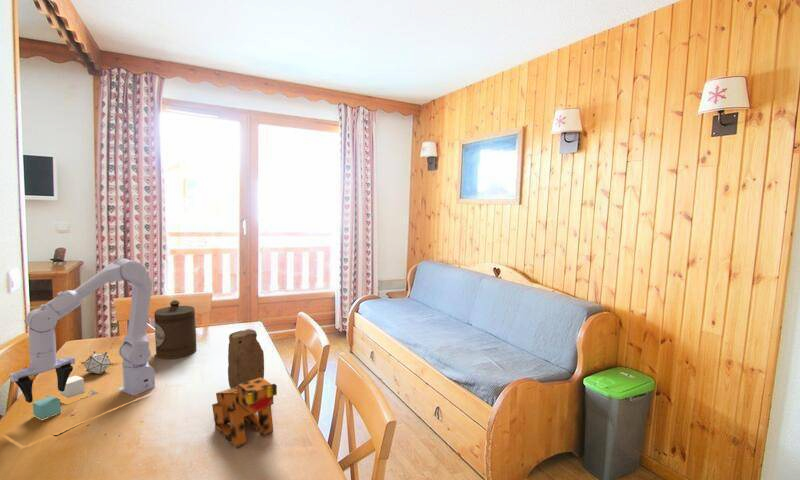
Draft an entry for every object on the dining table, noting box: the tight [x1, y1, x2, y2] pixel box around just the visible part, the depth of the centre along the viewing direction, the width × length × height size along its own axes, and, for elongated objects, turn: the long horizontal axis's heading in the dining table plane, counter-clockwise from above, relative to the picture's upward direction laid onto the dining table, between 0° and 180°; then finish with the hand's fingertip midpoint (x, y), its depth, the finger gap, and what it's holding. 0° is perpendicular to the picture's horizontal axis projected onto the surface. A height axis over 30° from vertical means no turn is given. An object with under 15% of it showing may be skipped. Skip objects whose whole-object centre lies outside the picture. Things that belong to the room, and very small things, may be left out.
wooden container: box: [153, 299, 197, 360], centre depth 168 cm, size 15×15×22 cm
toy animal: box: [211, 377, 278, 448], centre depth 113 cm, size 10×20×16 cm, turn 46°
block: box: [227, 328, 265, 389], centre depth 138 cm, size 11×8×20 cm
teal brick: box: [32, 396, 62, 419], centre depth 119 cm, size 5×5×5 cm
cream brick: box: [60, 375, 85, 398], centre depth 131 cm, size 5×5×5 cm
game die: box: [81, 350, 114, 375], centre depth 147 cm, size 9×8×10 cm
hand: (45, 395), depth 118 cm, fingers open, 7 cm apart
